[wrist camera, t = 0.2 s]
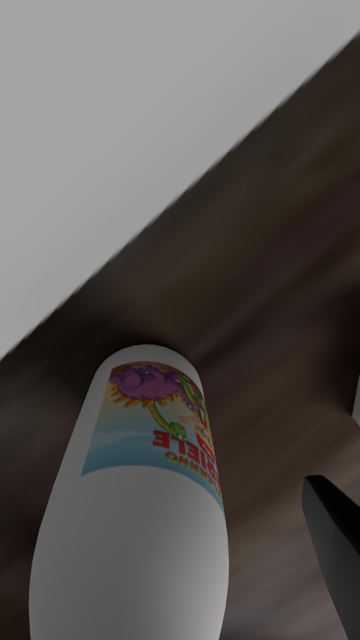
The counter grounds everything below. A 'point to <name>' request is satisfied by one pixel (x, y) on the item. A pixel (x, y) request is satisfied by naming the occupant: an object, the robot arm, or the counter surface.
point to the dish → (357, 404)
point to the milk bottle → (134, 512)
